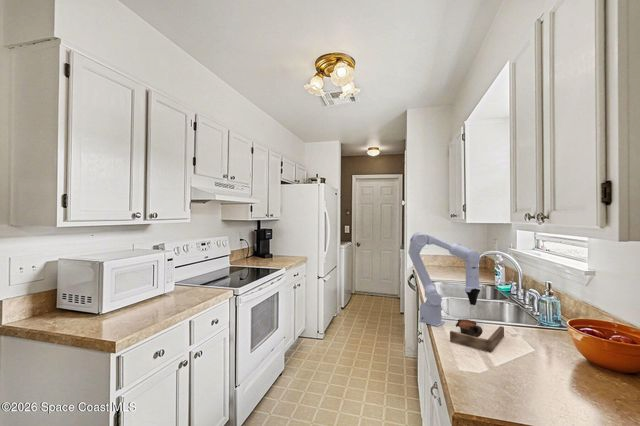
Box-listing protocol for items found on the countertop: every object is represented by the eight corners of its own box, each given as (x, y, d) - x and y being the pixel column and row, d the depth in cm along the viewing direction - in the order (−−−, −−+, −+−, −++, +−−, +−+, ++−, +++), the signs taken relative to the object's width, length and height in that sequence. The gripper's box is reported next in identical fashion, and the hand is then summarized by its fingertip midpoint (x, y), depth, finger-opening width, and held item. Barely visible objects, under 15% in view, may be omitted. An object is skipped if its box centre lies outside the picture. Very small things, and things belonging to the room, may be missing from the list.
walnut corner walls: (450, 341, 121) (449, 331, 121) (466, 327, 136) (466, 319, 136) (491, 352, 111) (490, 341, 111) (504, 336, 126) (503, 326, 126)
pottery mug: (449, 337, 127) (450, 317, 131) (464, 343, 130) (464, 324, 134) (476, 339, 117) (476, 318, 121) (490, 345, 121) (490, 325, 124)
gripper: (476, 279, 132) (477, 309, 132) (485, 274, 143) (486, 302, 143) (460, 277, 137) (460, 306, 137) (470, 272, 148) (470, 300, 148)
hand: (472, 304), depth 140 cm, fingers closed
